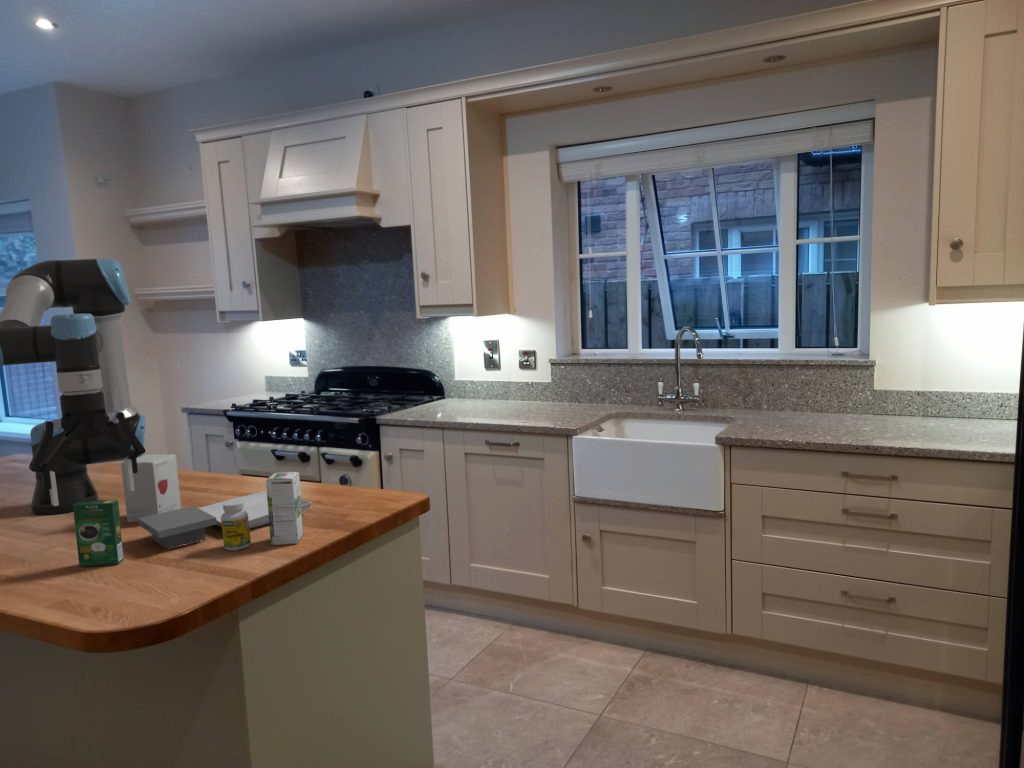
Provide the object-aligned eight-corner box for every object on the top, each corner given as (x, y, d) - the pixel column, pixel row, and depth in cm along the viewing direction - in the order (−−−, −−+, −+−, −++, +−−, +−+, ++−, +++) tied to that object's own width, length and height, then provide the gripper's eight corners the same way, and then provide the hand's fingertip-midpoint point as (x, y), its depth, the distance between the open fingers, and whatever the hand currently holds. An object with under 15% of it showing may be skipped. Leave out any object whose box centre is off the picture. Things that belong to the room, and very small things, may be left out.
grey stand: (140, 540, 163) (137, 518, 163) (195, 526, 171) (193, 505, 171) (160, 554, 153) (158, 531, 152) (218, 539, 161) (216, 517, 160)
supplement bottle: (252, 541, 159) (248, 498, 158) (249, 549, 154) (245, 504, 153) (226, 544, 158) (221, 500, 157) (222, 552, 153) (217, 507, 151)
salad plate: (189, 522, 176) (188, 508, 176) (270, 501, 191) (269, 488, 191) (231, 540, 162) (229, 525, 161) (315, 515, 177) (314, 501, 177)
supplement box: (159, 523, 175) (152, 462, 173) (126, 523, 177) (119, 462, 175) (183, 512, 184) (177, 453, 182) (151, 511, 186) (145, 453, 184)
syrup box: (277, 537, 161) (271, 472, 159) (304, 535, 161) (299, 470, 159) (270, 546, 155) (264, 479, 153) (298, 544, 156) (292, 477, 154)
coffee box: (126, 559, 151) (119, 497, 149) (119, 564, 148) (112, 501, 146) (85, 562, 151) (78, 500, 149) (78, 567, 148) (70, 504, 146)
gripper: (9, 401, 134) (24, 515, 136) (154, 385, 150) (165, 486, 153) (2, 399, 139) (17, 508, 142) (143, 383, 156) (154, 481, 158)
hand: (94, 497), depth 147 cm, fingers open, 13 cm apart
